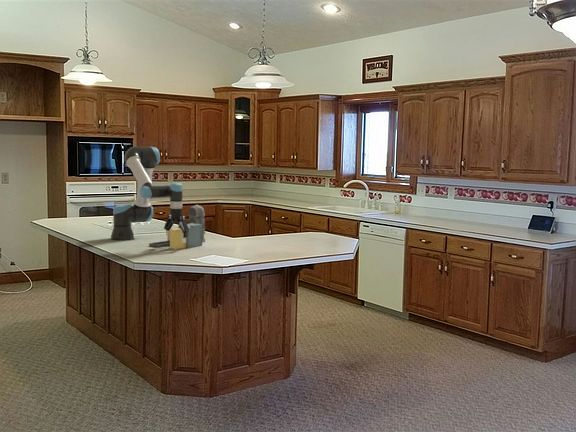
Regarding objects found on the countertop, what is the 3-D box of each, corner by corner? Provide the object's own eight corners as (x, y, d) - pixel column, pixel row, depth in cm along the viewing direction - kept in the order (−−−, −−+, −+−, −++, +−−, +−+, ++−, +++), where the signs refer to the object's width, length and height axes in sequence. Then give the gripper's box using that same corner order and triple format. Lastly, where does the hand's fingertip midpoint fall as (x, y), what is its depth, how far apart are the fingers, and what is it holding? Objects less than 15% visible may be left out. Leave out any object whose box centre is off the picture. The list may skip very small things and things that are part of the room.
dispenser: (178, 246, 387) (178, 224, 386) (192, 244, 397) (192, 222, 395) (188, 247, 382) (188, 225, 380) (202, 245, 391) (202, 224, 390)
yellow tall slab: (170, 248, 379) (169, 229, 378) (186, 245, 390) (186, 227, 389) (175, 249, 376) (175, 230, 375) (191, 246, 387) (191, 227, 386)
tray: (149, 246, 385) (149, 243, 385) (170, 243, 399) (170, 240, 399) (158, 247, 380) (158, 244, 380) (179, 244, 394) (179, 241, 394)
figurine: (198, 243, 401) (198, 205, 398) (185, 240, 411) (185, 204, 408) (209, 241, 408) (209, 204, 405) (196, 239, 418) (196, 203, 415)
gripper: (158, 207, 382) (158, 240, 384) (185, 209, 367) (185, 244, 369) (167, 206, 388) (167, 239, 390) (194, 209, 373) (194, 243, 375)
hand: (176, 241), depth 379 cm, fingers open, 13 cm apart
